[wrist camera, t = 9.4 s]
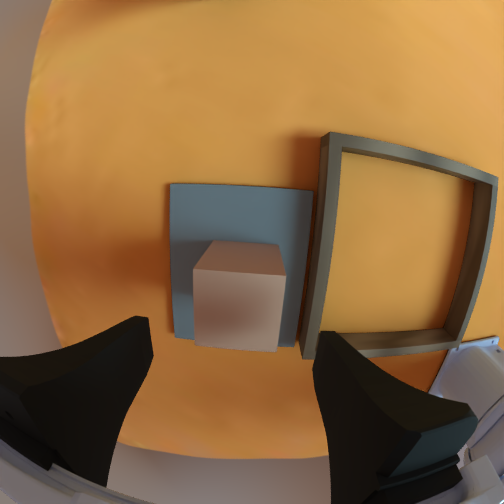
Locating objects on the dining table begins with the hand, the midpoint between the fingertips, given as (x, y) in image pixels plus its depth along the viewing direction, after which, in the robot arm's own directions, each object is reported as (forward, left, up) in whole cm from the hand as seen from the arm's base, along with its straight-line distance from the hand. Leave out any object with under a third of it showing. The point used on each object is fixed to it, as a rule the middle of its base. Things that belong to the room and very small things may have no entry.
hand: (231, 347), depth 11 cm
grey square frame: (-12, -2, -9) cm, 16 cm away
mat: (+1, 0, -9) cm, 9 cm away
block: (0, 0, -9) cm, 9 cm away
